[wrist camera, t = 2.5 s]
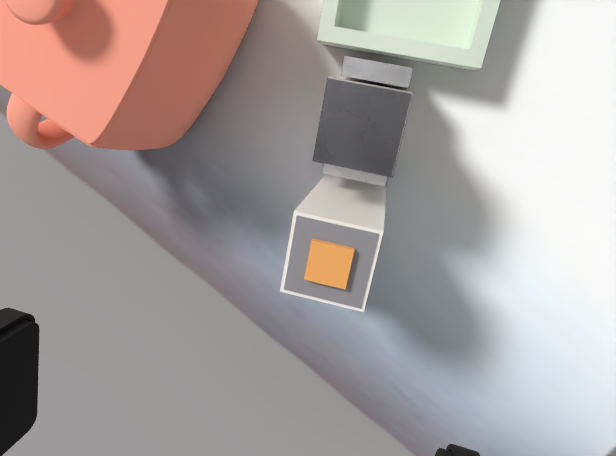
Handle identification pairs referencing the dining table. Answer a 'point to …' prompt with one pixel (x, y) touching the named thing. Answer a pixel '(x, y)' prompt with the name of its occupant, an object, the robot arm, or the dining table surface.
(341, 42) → the tray
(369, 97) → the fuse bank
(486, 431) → the dining table surface
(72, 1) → the teapot
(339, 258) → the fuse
